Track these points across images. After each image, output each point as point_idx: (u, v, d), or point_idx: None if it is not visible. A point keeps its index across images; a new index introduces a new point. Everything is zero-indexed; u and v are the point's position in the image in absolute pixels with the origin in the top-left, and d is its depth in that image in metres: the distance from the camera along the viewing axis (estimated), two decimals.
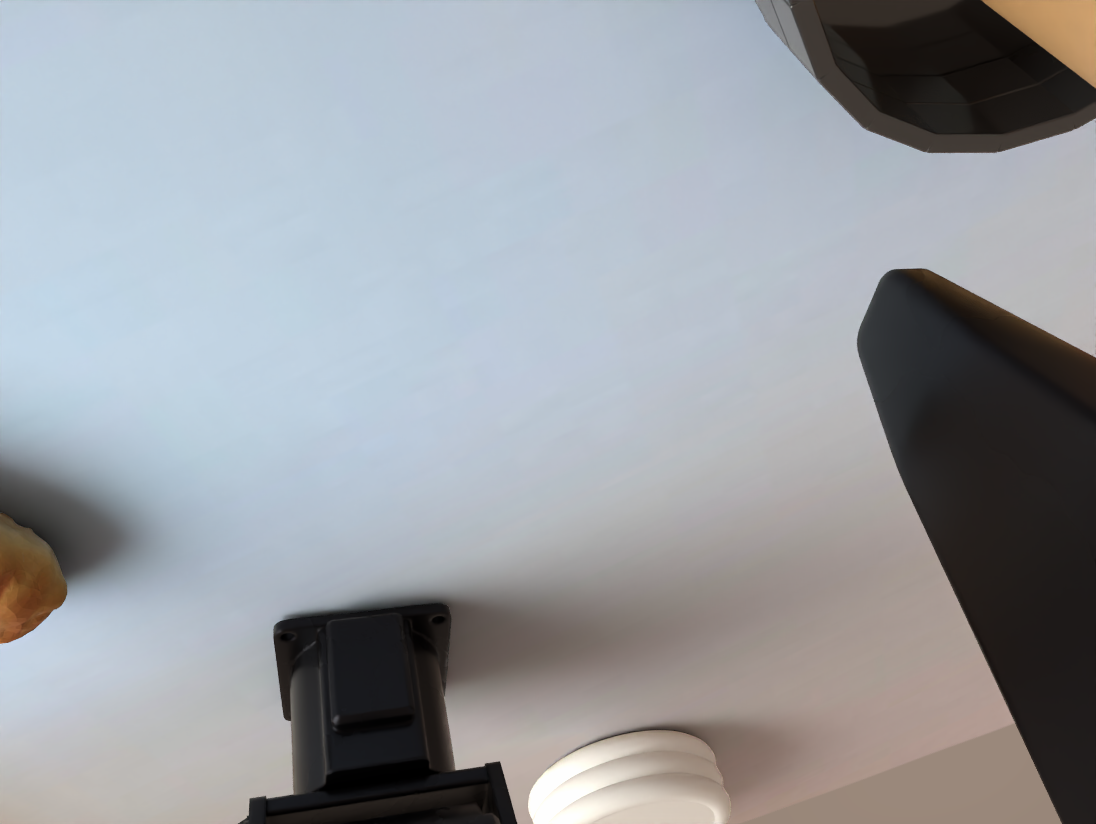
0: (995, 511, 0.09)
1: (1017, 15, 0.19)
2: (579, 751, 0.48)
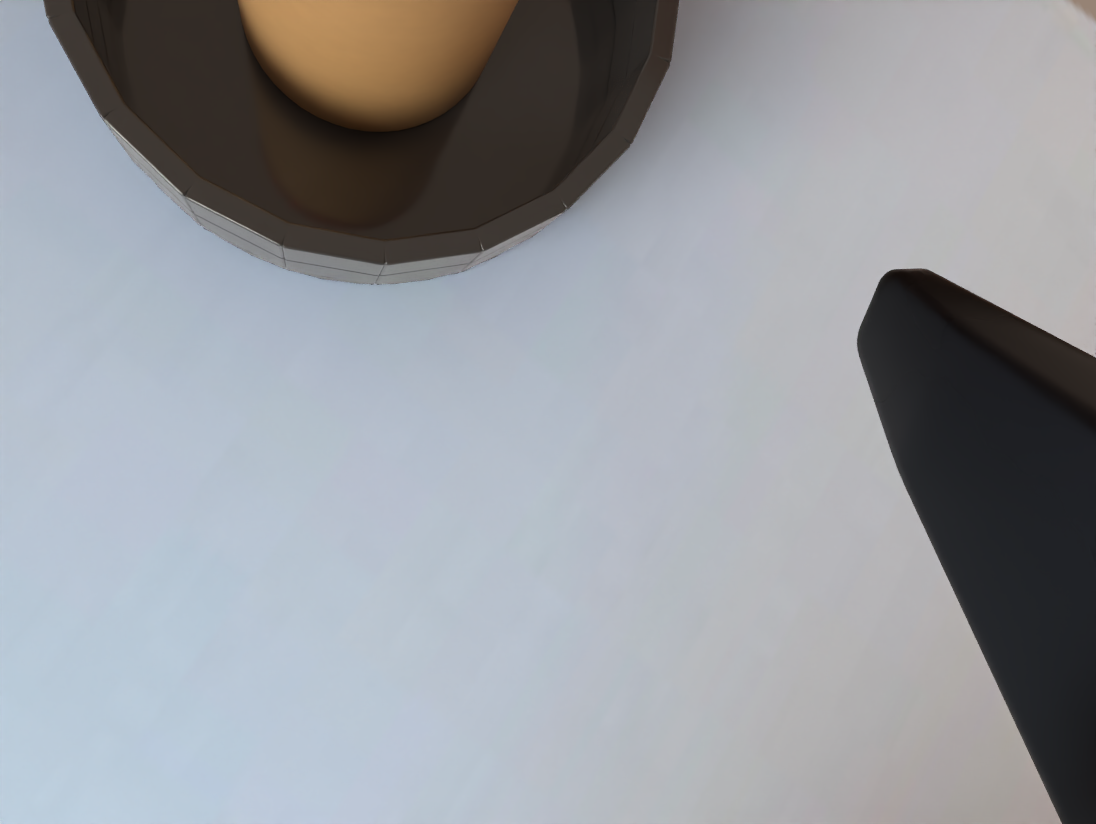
0: (995, 511, 0.09)
1: (338, 34, 0.17)
2: None
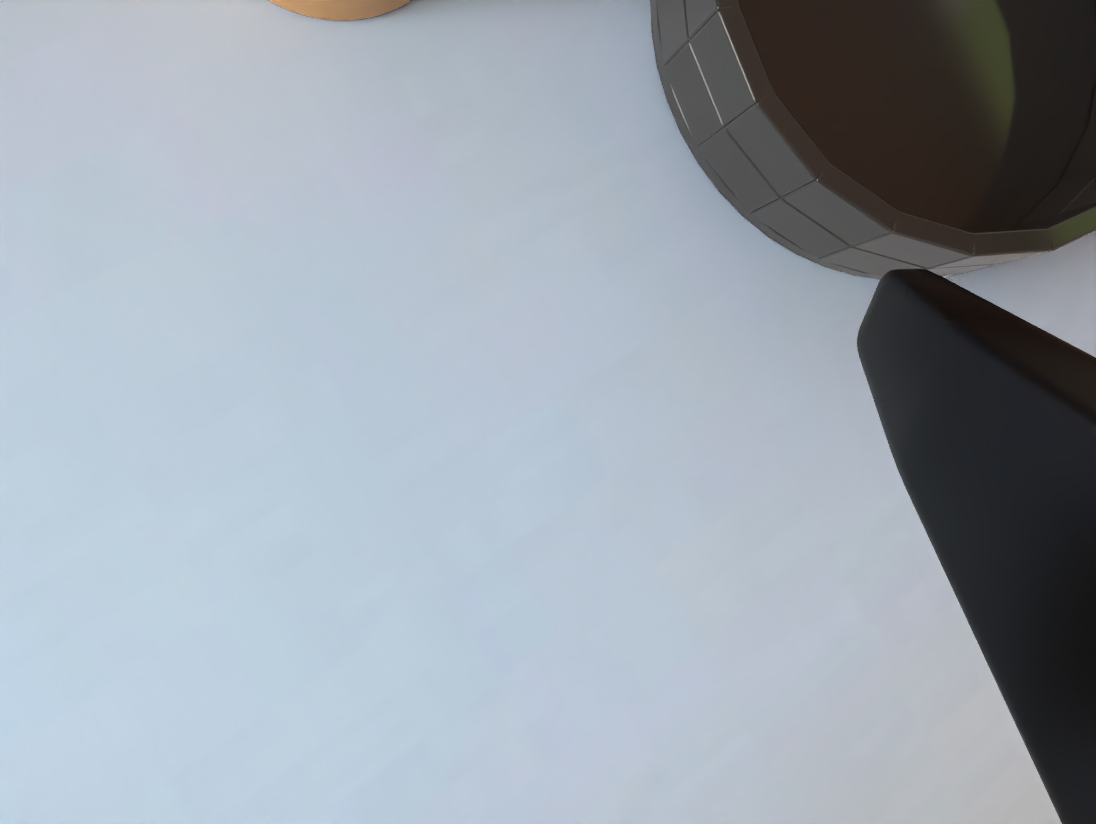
0: (996, 511, 0.09)
1: None
2: None
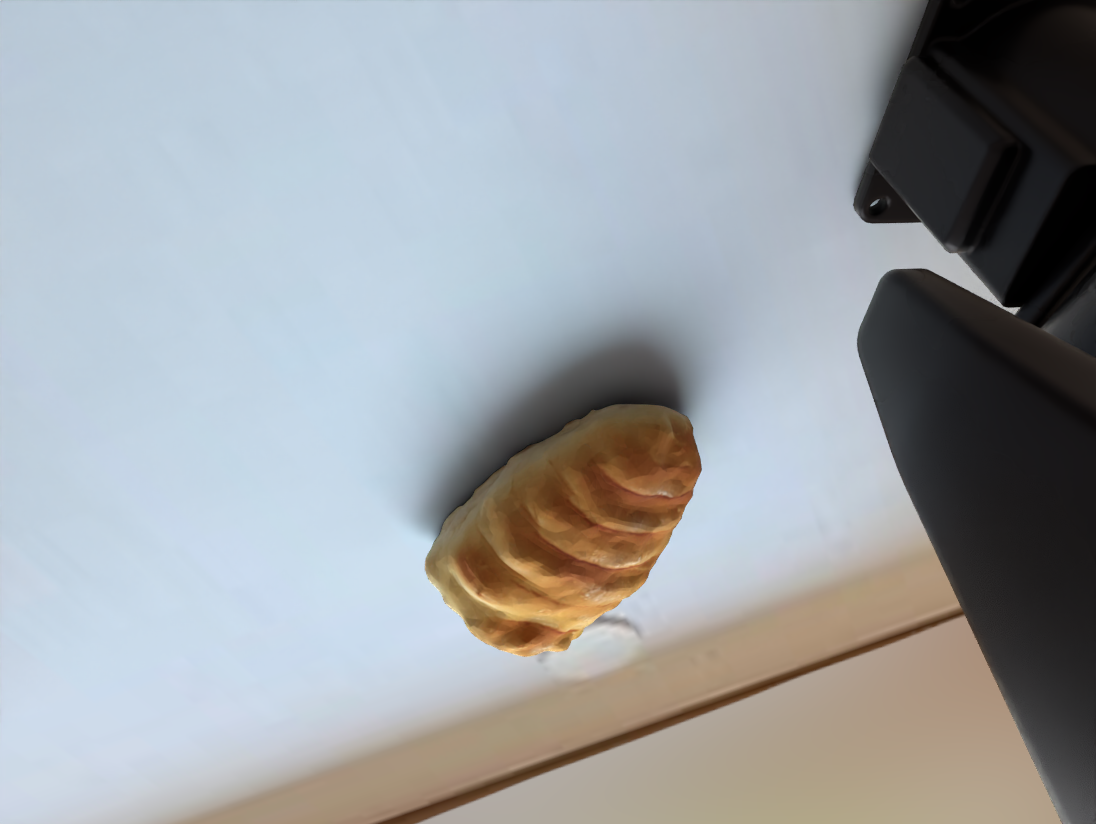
0: (995, 512, 0.09)
1: None
2: None
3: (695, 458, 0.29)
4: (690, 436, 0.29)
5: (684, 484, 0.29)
